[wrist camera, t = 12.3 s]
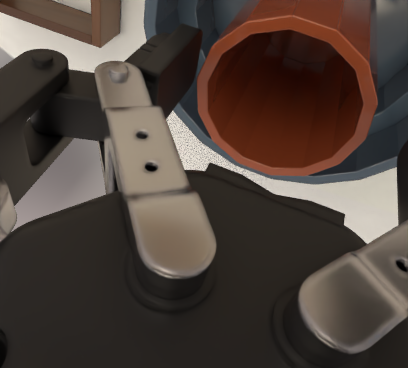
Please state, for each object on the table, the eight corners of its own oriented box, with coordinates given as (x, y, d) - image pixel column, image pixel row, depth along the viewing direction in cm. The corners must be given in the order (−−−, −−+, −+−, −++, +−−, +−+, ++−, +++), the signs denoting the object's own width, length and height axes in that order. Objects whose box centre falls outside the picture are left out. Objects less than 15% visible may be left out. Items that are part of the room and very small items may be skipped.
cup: (278, -72, 17) (214, -12, 11) (401, -33, 17) (420, 58, 10) (244, 44, 22) (183, 142, 15) (342, 79, 21) (327, 197, 14)
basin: (221, -225, 15) (162, -249, 11) (577, -127, 14) (665, -112, 10) (174, 80, 25) (135, 127, 21) (377, 153, 24) (378, 219, 20)
